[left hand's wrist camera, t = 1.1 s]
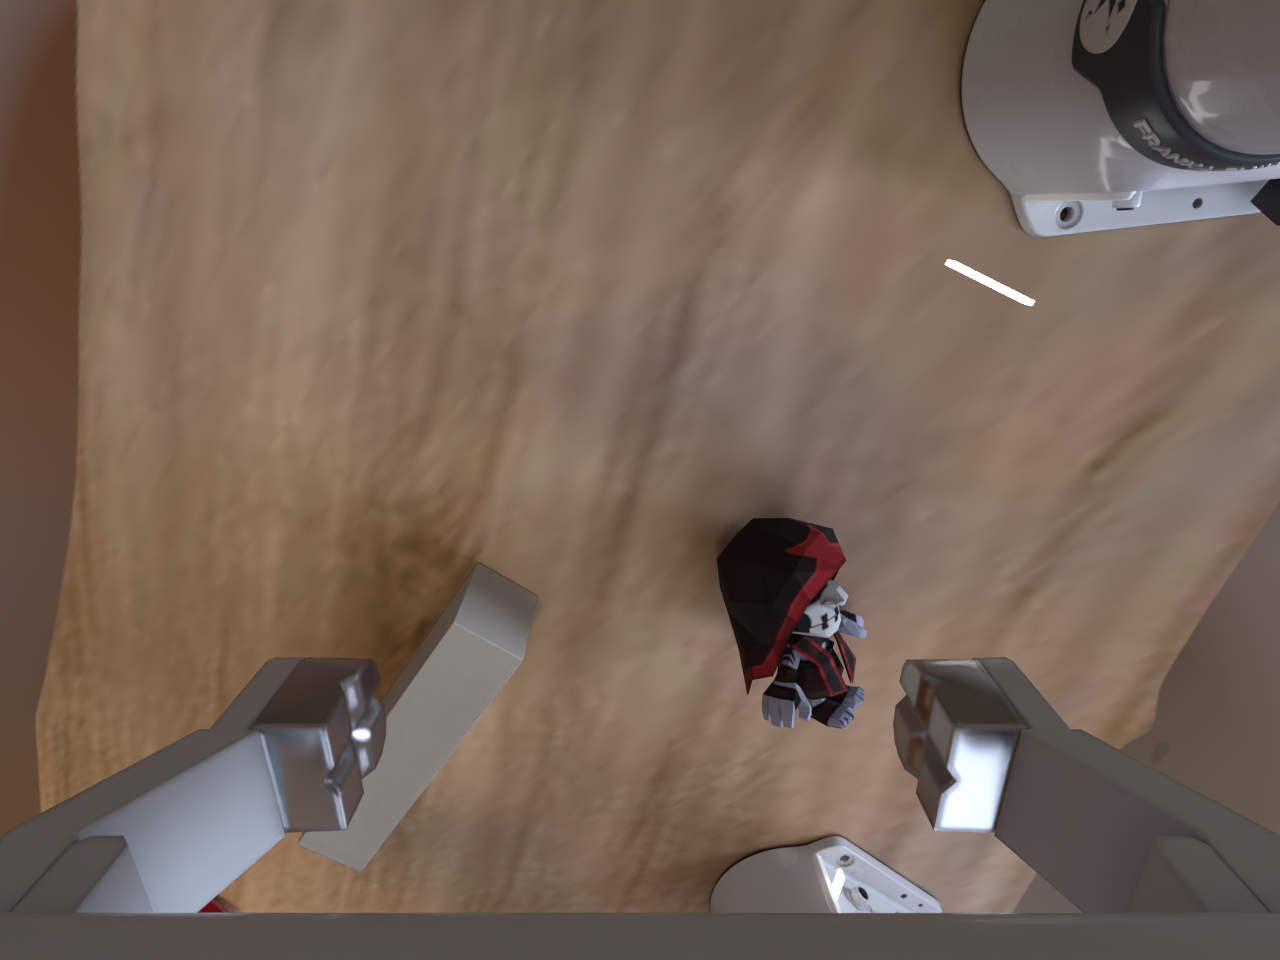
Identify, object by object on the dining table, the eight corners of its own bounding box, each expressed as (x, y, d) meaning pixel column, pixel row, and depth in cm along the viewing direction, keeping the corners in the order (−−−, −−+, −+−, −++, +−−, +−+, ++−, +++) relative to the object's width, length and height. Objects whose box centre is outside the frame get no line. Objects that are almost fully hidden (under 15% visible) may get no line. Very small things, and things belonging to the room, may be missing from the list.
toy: (849, 780, 43) (786, 577, 39) (728, 745, 50) (663, 568, 45) (915, 664, 51) (869, 483, 47) (804, 647, 58) (754, 487, 53)
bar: (478, 561, 51) (453, 622, 44) (537, 596, 53) (523, 660, 45) (338, 763, 59) (296, 844, 51) (393, 789, 60) (360, 872, 53)
